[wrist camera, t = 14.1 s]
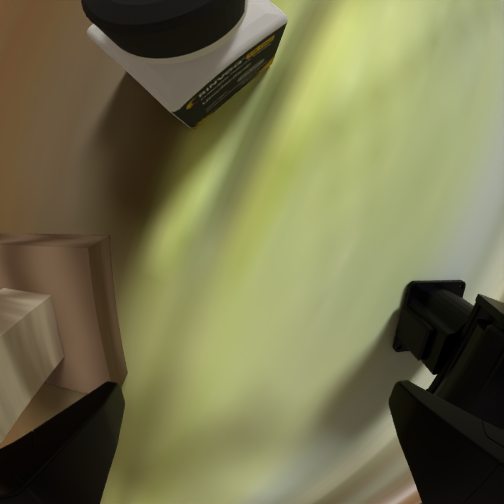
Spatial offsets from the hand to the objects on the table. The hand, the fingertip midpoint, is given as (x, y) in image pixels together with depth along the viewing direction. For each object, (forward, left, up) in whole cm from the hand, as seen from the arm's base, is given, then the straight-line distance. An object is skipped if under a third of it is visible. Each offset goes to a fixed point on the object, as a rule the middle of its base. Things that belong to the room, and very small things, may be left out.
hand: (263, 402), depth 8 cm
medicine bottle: (+4, -14, -13) cm, 20 cm away
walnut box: (+16, +4, -14) cm, 21 cm away
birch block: (+16, +4, -9) cm, 19 cm away
